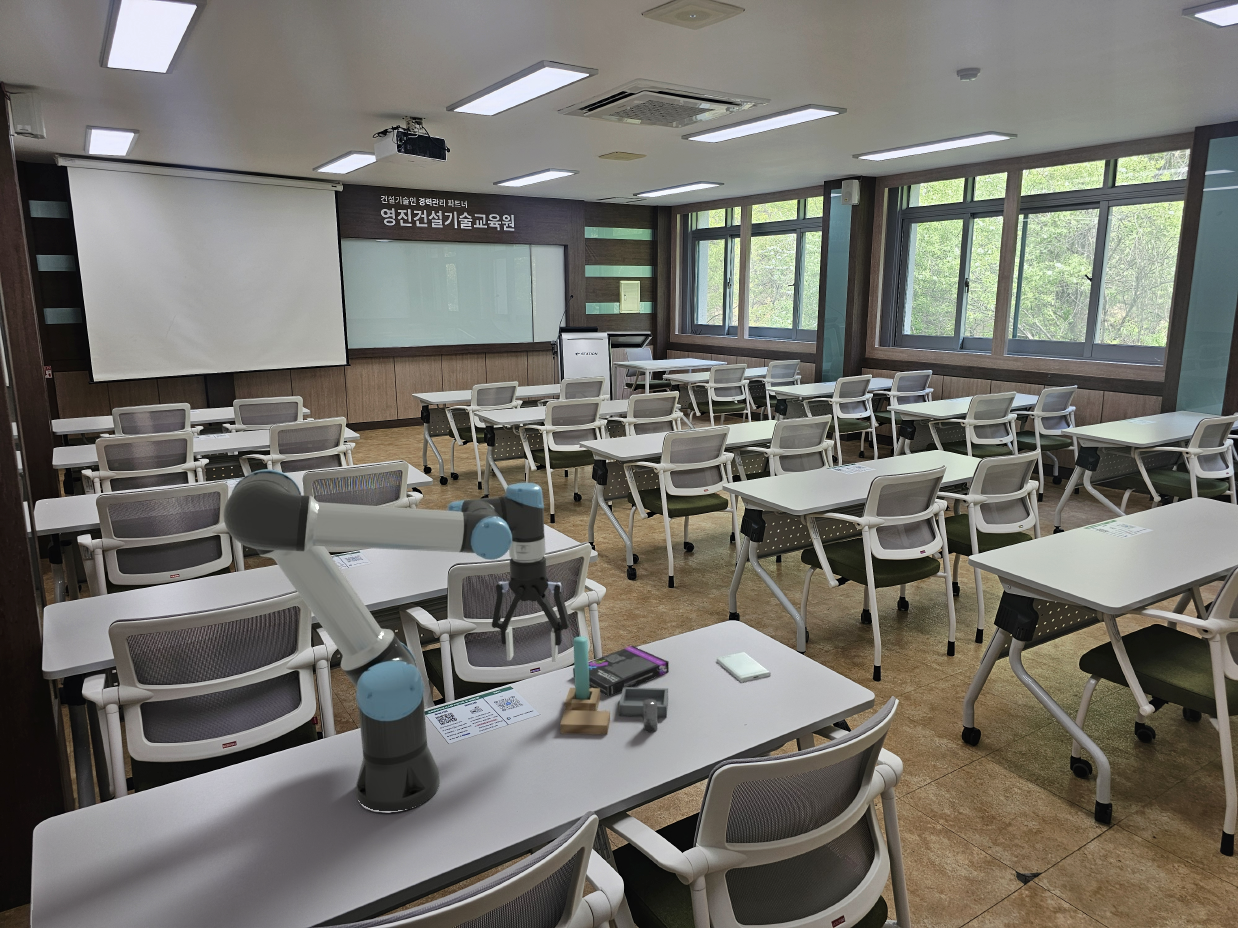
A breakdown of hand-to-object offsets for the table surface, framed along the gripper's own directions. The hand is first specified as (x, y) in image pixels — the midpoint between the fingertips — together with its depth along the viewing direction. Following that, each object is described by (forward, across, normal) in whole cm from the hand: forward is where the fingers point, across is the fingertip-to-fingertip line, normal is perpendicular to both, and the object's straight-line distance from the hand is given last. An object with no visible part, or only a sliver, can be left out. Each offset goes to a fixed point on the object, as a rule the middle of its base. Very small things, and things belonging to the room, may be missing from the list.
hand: (532, 658), depth 168 cm
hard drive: (+16, +46, +30) cm, 57 cm away
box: (+16, +16, +25) cm, 34 cm away
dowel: (+15, +9, +9) cm, 20 cm away
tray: (+15, +23, +9) cm, 29 cm away
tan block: (+16, +11, 0) cm, 19 cm away
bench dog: (+15, +25, 0) cm, 29 cm away
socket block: (+15, +9, +9) cm, 20 cm away
